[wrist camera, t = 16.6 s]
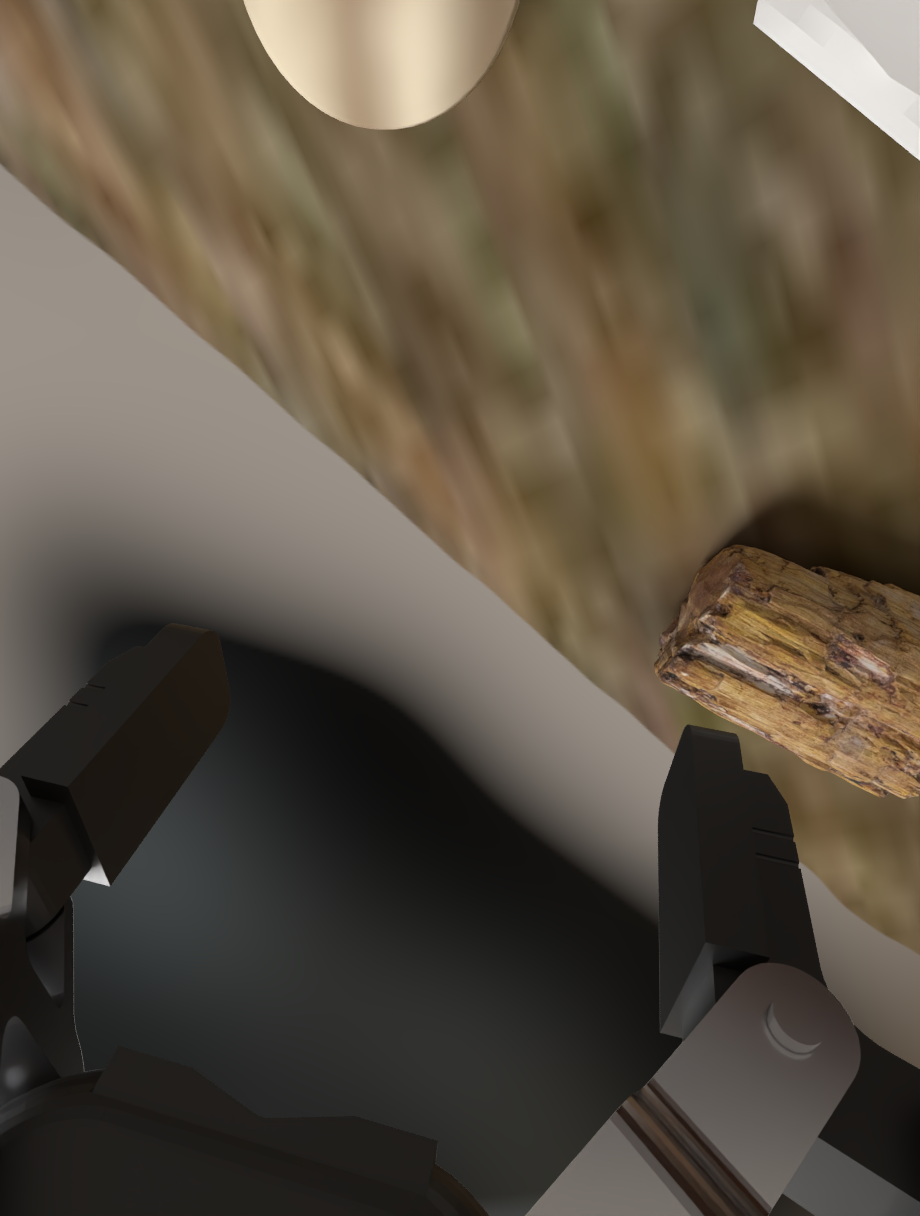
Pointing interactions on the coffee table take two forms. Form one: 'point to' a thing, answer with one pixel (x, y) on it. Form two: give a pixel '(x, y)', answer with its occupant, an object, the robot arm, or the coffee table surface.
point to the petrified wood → (805, 663)
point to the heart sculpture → (857, 54)
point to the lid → (383, 53)
